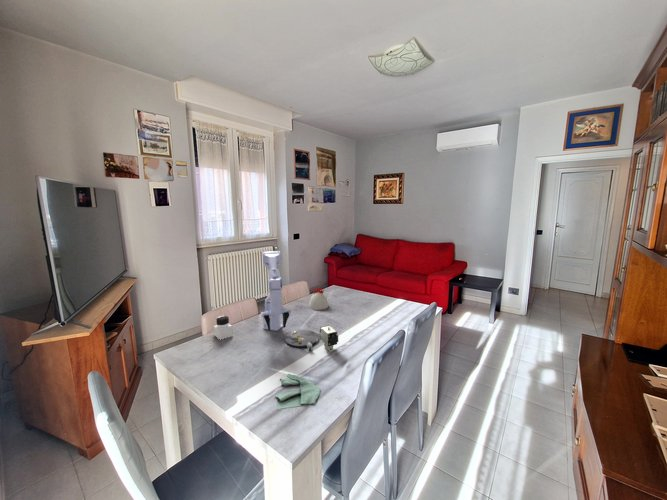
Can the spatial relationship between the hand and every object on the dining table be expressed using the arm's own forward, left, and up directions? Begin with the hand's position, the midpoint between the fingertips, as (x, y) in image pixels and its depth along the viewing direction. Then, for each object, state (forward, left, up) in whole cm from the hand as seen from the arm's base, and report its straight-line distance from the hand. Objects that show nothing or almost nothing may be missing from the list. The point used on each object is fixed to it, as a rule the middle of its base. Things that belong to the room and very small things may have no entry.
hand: (276, 328), depth 140 cm
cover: (+7, +7, -7) cm, 12 cm away
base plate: (+9, +9, -9) cm, 16 cm away
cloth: (+23, -28, -10) cm, 38 cm away
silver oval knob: (+18, +1, -9) cm, 20 cm away
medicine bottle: (-31, -3, -10) cm, 33 cm away
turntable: (+9, +9, -9) cm, 16 cm away
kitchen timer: (-2, +57, -10) cm, 58 cm away
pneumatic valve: (+27, +5, -10) cm, 29 cm away
